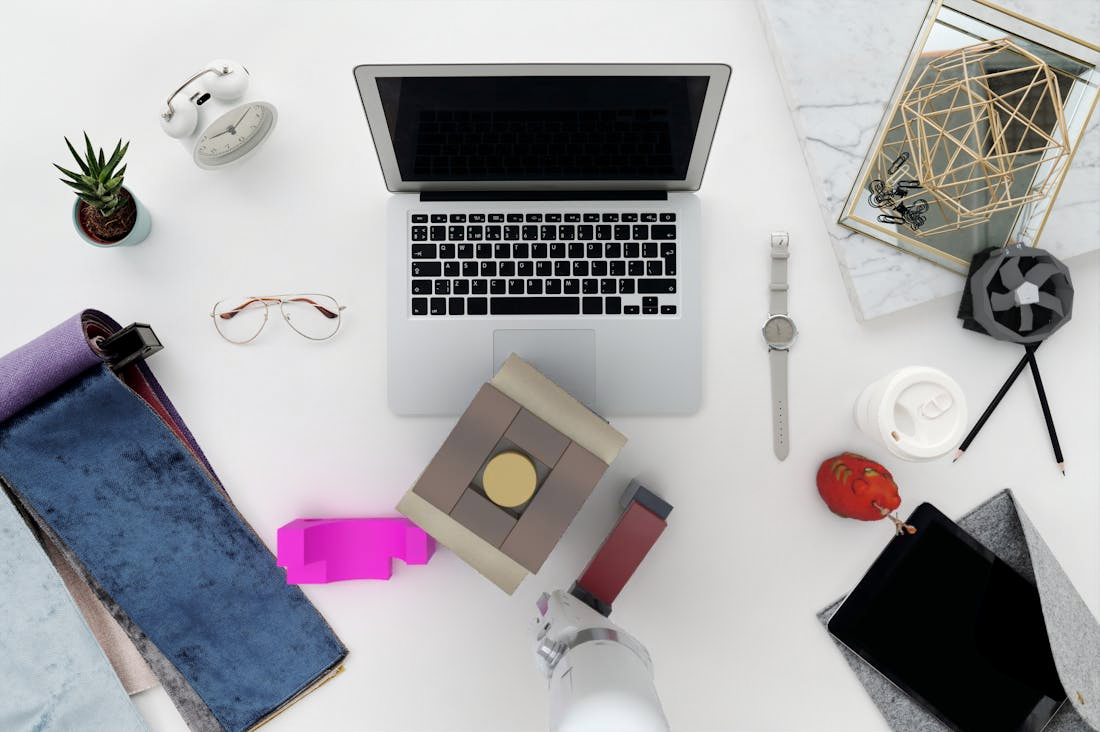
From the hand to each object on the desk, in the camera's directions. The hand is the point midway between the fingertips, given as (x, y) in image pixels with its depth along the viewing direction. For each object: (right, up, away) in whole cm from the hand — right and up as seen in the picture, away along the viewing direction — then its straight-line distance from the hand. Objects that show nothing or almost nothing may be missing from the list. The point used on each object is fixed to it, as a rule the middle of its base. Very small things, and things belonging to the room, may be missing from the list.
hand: (585, 609), depth 76 cm
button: (-6, +15, -15) cm, 23 cm away
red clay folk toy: (+29, +11, +10) cm, 33 cm away
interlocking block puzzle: (-7, +15, +10) cm, 19 cm away
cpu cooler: (+47, +31, +11) cm, 58 cm away
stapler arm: (+3, +4, +2) cm, 6 cm away
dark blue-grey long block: (+4, +5, +10) cm, 12 cm away
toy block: (-23, +4, +10) cm, 26 cm away
